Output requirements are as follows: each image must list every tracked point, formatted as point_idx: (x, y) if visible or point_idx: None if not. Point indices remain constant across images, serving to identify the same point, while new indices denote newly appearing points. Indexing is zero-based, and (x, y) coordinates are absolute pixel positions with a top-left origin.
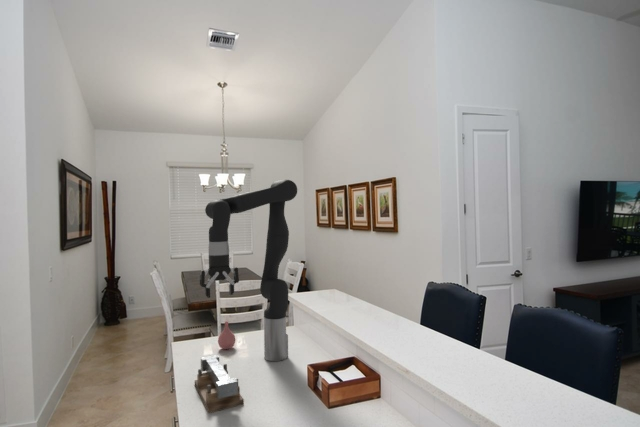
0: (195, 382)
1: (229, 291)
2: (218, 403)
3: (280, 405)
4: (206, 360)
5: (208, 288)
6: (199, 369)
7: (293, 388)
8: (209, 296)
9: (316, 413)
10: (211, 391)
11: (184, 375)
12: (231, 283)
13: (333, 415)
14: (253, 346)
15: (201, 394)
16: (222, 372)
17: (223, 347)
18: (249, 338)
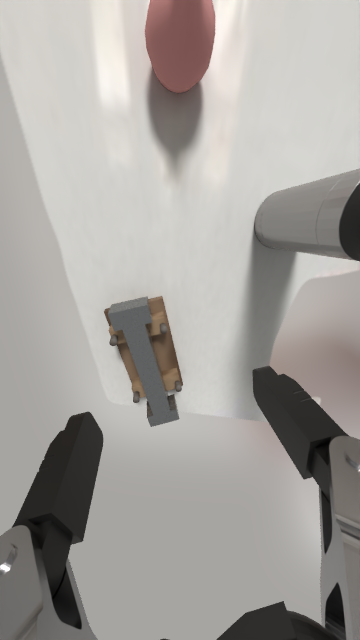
0: (107, 319)
1: (263, 383)
2: None
3: (223, 390)
4: (124, 334)
5: (67, 541)
6: (112, 341)
7: (253, 356)
8: (96, 449)
9: (251, 408)
10: (140, 392)
11: (73, 257)
12: (326, 506)
13: None
14: (258, 88)
15: (123, 361)
16: (157, 390)
17: (164, 86)
18: None
